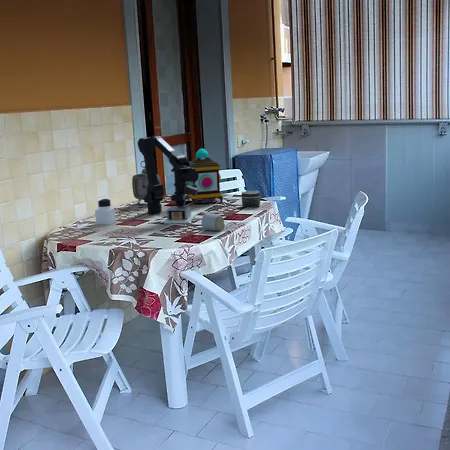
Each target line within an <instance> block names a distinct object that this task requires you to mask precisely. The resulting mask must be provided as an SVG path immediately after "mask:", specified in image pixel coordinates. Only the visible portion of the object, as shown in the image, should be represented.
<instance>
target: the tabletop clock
mask: <svg viewBox="0 0 450 450" xmlns="http://www.w3.org/2000/svg"><path fill="white" fill-rule="evenodd" d="M142 163H145V161H144V160H142V161H141V162H140V164H139V165H140V167H141V168H142V170H141V173H139V174H134V175H132V179H131V181H132V182H131V186H132V187H131V188H132V192H133V193H132V194H133V197H134V198H135V199H137V200H138V201H136V205H137V206H138V205H140V202H141V201H142V200H143V201H144V197H145V196H146V194H147V187H148V184H149V182H148V177H147V172H146V167H145V166H143V165H142ZM157 178H158V182H159V183H160V184H162V182H161V176H160V175H159V174H157Z"/></svg>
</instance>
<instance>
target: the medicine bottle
mask: <svg viewBox="0 0 450 450" xmlns="http://www.w3.org/2000/svg"><path fill="white" fill-rule="evenodd" d="M115 211H116V210H115V207H112V204H111V200H110V198H101V199H98V200H97V209H95V210H94V215H95V224H96V225H97V226H99V225H100V226H101V225H102V226H110V225H112V224H114V223H116V212H115Z"/></svg>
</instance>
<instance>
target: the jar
mask: <svg viewBox="0 0 450 450" xmlns="http://www.w3.org/2000/svg"><path fill="white" fill-rule="evenodd" d="M240 197H241V204H242V206H243V208H245V207H246V208H247V207H250V208H249V209H252V208H251V207H254V208H258V206H259V207H260V205H261V192H260V191H259V190H245V191H242V192H241V196H240ZM247 209H248V208H247Z"/></svg>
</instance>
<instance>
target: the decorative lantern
mask: <svg viewBox="0 0 450 450" xmlns="http://www.w3.org/2000/svg"><path fill="white" fill-rule="evenodd" d="M188 162H189V164H190V165H191V167H192V168H195V170H196V171H197V172H198V174H199V178H198V180H197V181H196V182H187V181H186V182H187V183H188V185H189V186H193V185H194V184H195V185H197V188H198V192H197V195H196V196H193V195H192V194H191V195H189V194H186V197H189V198H188V199H187V200H186V201H190V200H191V204H192V206H195V203H196V201H198V200H199V201H200V200H208V199H209V200H210V199H219V202H220V203H223V197H224V196H223V195H222V193H221V186H220V182H221V180H222V179H221V178H222V177H221V174H220V169H221V165H220V164H219V163H218V162H217V161H215V160H212V158H211V157H209V153H208V151H207V150H206V149H205V148H199V149H198V150H197V152H195V157H194V158H193V159H191V161H188Z"/></svg>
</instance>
